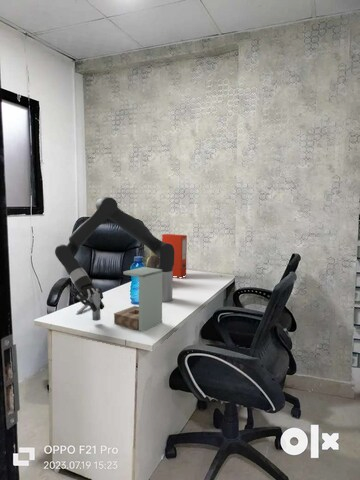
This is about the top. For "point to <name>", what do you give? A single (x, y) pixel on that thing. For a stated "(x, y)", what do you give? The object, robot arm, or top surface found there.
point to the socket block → (128, 318)
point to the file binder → (178, 252)
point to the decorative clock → (152, 261)
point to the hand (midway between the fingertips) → (99, 309)
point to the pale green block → (149, 296)
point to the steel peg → (97, 303)
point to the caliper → (81, 309)
